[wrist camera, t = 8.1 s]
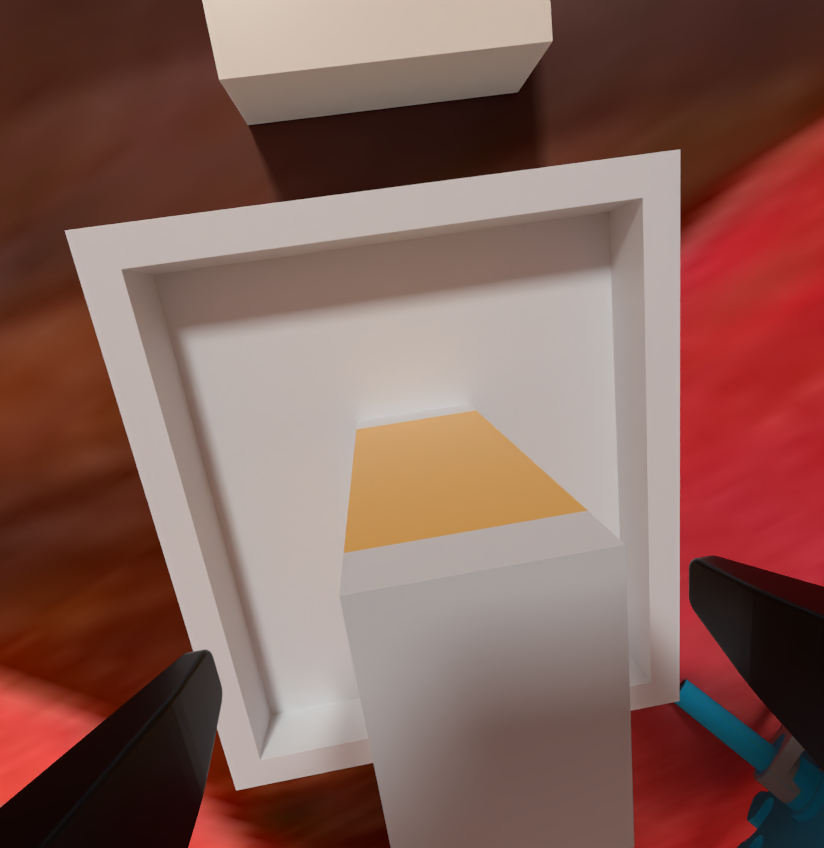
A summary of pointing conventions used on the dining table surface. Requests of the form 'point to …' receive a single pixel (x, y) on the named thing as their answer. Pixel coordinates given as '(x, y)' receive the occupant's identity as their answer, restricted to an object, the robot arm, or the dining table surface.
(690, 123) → the dining table surface
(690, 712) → the blue toy water gun
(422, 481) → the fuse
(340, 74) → the white shallow boxy piece
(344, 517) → the parts tray
